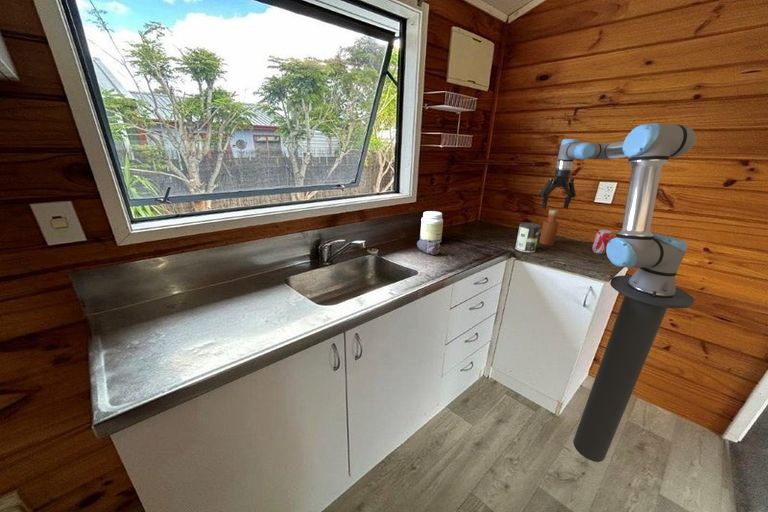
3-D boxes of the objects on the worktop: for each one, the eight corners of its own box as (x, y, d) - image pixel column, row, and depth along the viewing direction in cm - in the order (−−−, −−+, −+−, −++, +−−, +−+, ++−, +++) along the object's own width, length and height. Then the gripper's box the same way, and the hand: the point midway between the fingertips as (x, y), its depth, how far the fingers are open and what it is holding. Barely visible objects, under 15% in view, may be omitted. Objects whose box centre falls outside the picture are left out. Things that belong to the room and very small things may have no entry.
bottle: (550, 246, 174) (557, 217, 168) (536, 242, 179) (542, 214, 173) (556, 243, 178) (562, 215, 172) (542, 240, 184) (548, 212, 178)
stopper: (553, 222, 171) (556, 210, 169) (545, 221, 174) (548, 209, 172) (557, 221, 174) (560, 209, 171) (548, 220, 177) (551, 208, 175)
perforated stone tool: (413, 249, 163) (414, 236, 160) (420, 247, 165) (421, 235, 163) (433, 257, 151) (434, 244, 149) (440, 255, 154) (442, 242, 152)
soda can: (588, 250, 169) (594, 229, 164) (601, 250, 169) (607, 229, 164) (596, 254, 162) (602, 233, 158) (609, 255, 162) (616, 233, 158)
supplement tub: (445, 242, 175) (448, 213, 169) (431, 246, 167) (433, 216, 161) (429, 237, 183) (431, 209, 177) (415, 240, 176) (417, 212, 170)
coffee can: (536, 248, 168) (541, 224, 163) (534, 254, 160) (539, 228, 155) (516, 245, 173) (521, 221, 168) (513, 250, 165) (518, 225, 160)
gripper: (579, 169, 169) (569, 206, 176) (538, 168, 165) (530, 207, 173) (589, 170, 162) (579, 209, 169) (546, 169, 158) (538, 209, 166)
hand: (554, 208), depth 171 cm, fingers open, 13 cm apart
